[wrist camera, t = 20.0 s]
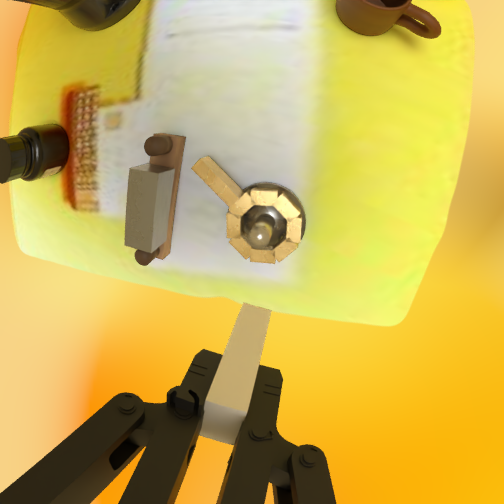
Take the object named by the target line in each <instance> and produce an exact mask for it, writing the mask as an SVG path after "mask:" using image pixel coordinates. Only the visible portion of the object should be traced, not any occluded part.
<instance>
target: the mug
mask: <svg viewBox="0 0 504 504" xmlns="http://www.w3.org/2000/svg"><path fill="white" fill-rule="evenodd" d="M411 1H412V0H336V10H337V14H338V16H339V18H340V19H341V21H342V22H343V23H344V24H345V25H346V26H347V27H349V28H350V29H352V30H353V31H355V32H358V33H360V34H364V35H380V34H383V33H385V32H386V31H388V30H389V29H390V28H391V27H392V26H393V25H394V24H397V25H400V26H403V27H405V28H407V29H409V30H410V31H412V32H413V33H415V34H417V35H419V36H421V37H424V38H429V39H433V38H437V37H438V36H439V35H440V34H441V26H440V24H439V22H438V21H437V20H436V19H435V17H433V16H432V15H431V14H430V13H429V12H427V11H425V10H423V9H421V8H419V7H417V6H415V5H413V4H411ZM415 19H416V20H418V21H420V22H422V23H423V24H425V25H423V24H421V23H419V22H418V21H416V20H415Z"/></svg>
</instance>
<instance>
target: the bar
mask: <svg viewBox="0 0 504 504" xmlns="http://www.w3.org/2000/svg"><path fill="white" fill-rule="evenodd" d="M174 173H175V168H170V167H165V166H160V165H155V164H149V163H147V164H143V165H140V166H136V167H132V168H130V170H129V181H128V192H127V206H126V223H125V245H126V246H129V247H132V248H135V249H139V250H142V251H145V252H148V253H152V252H153V251H155V250H156V249H157V248H158V247H159V246H160V245H162V244H163V243H164V242H165V241H166V239H167V229H168V220H169V211H170V203H171V195H172V188H173V180H174Z"/></svg>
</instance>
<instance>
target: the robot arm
mask: <svg viewBox="0 0 504 504" xmlns="http://www.w3.org/2000/svg"><path fill="white" fill-rule="evenodd" d="M14 1H20V2H25V3H30V4H35V5H39V6H44V7H48V8H52V9H55V10H58V11H59V12H60V13H61V14H62V15H63V16H65V17H66V18H67V19H68V20H69V21H70V22H71V23H72V24H73V25H74V26H76V27H78V28H82V29H85V30H89V31H97V30H101V29H104V28H107V27H109V26H111V25H113V24H115V23H116V22H118V21H119V20H121V19H122V18H123V17H125V16H126V15H127V14H128V13H129V12H130V11H131V10H132V9H133V8H134V7H135V6H136V5H137V4H138V2H139V1H140V0H14ZM270 314H271V310H268V309H265V308H261V307H257V306H254V305H250V304H247V303H243V304H242V307H241V310H240V312H239V315H238V318H237V320H236V323H235V325H234V328H233V331H232V333H231V336H230V338H229V341H228V343H227V346H226V349H225V351H224V354H223V355H221V354H217V353H215V352H211V351H208V350H205V349H203V350H201V351H200V352H199V353H198V354H196V355H195V357H194V359H193V361H192V363H191V365H190V367H189V369H188V371H187V373H186V375H185V377H184V379H183V381H182V383H181V385H180V386H176V387H174V388H172V389H170V390H169V391H168V392H167V402H165V403H155V404H154V403H147V402H143V401H142V400H141V399H140V398H139V397H138V396H136V395H135V394H133V393H120V394H118V395H116V396H114V397H113V398H112V399H111V400H110V401H109V402H107V403H106V404H105V405H104V406H103V407H102V408H101V409H99V410H98V411H97V412H96V413H95V414H94V415H93V416H91V417H90V418H89V419H88V420H87V421H86V422H84V423H83V424H82V425H81V426H80V427H79V428H77V429H76V430H75V431H74V432H73V433H72V434H71V435H70V436H68V437H67V438H66V439H65V440H63V441H62V442H61V443H60V444H59V445H58V446H57V447H55V448H54V449H53V450H52V451H51V452H49V453H48V454H47V455H46V456H45V457H44V458H42V459H41V460H40V461H39V462H38V463H36V464H35V465H34V466H33V467H32V468H30V469H29V470H28V471H27V472H26V473H25V474H24V475H22V476H21V477H20V478H19V479H17V480H16V481H15V482H14V483H12V484H11V485H10V486H9V487H8V488H6V489H5V490H4V491H3V492H1V493H0V504H90V503H91V502H92V501H93V500H94V499H95V498H96V497H97V496H98V495H99V494H100V493H101V492H102V491H103V490H104V489H105V488H106V487H107V486H108V485H109V484H110V483H111V482H112V481H113V480H114V479H115V478H116V477H117V476H118V475H119V474H120V472H121V471H122V470H123V469H124V468H125V467H126V466H127V465H128V464H129V463H130V462H131V461H132V460H133V459H134V458H135V457H136V455H137V454H138V453H139V452H140V451H141V450H142V449H143V448H144V447H145V446H146V448H145V451H144V452H143V455H142V457H141V459H140V461H139V463H138V465H137V467H136V469H135V471H134V473H133V475H132V477H131V479H130V481H129V483H128V485H127V487H126V489H125V491H124V493H123V495H122V497H121V499H120V501H119V503H118V504H174V503H175V500H176V497H177V495H178V492H179V490H180V487H181V484H182V482H183V479H184V476H185V474H186V471H187V468H188V466H189V463H190V460H191V458H192V455H193V452H194V450H195V447H196V442H197V439H198V436H199V435H200V436H203V437H206V438H210V439H213V440H216V441H220V442H223V443H227V444H231V445H234V447H233V451H232V453H231V456H230V459H229V461H228V466H227V469H226V473H225V476H224V480H223V483H222V486H221V490H220V493H219V496H218V500H217V503H216V504H264V503H265V497H266V492H267V488H268V482H270V483H272V486H273V495H274V504H336V500H335V495H334V491H333V486H332V482H331V478H330V473H329V469H328V464H327V460H326V457H325V455H324V453H323V451H322V450H321V449H319V448H318V447H316V446H313V445H308V444H306V445H301V446H299V447H298V446H296V445H294V444H292V443H290V442H288V441H286V440H285V439H284V438H283V437H282V436H281V435H280V434H279V432H278V431H277V427H276V421H277V414H278V408H279V402H280V395H281V388H282V382H283V378H282V375H281V372H280V370H278V369H274V368H270V367H266V366H263V365H259V363H260V358H261V354H262V350H263V345H264V341H265V337H266V332H267V328H268V323H269V319H270Z"/></svg>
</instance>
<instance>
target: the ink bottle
mask: <svg viewBox="0 0 504 504" xmlns="http://www.w3.org/2000/svg"><path fill="white" fill-rule="evenodd" d="M67 156H68V139H67V135H66V133H65V131H64V130H63V129H62V128H61V127H60V126H58V125H55V124H48V125H39V126H31V127H27V128H24V129H23V130H21V131H20V132H19V134H18V135H16V136H15V135H14V136H9V137H4V138H0V183H2V184H3V183H6V182H9V181H12V180H15V179H18V178H21V179H23V180H25V181H34V180H37V179H40V178H44V177H47V176H50V175H53V174H56V173H58V172H60V171H61V170H62V168H63V167H64V165H65V163H66V160H67Z"/></svg>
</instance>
